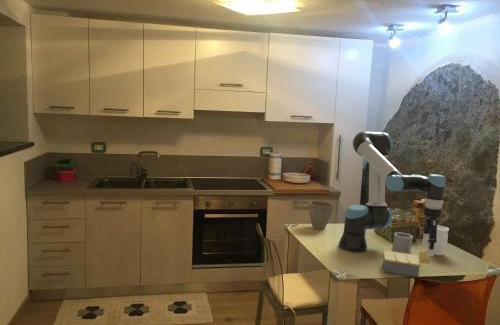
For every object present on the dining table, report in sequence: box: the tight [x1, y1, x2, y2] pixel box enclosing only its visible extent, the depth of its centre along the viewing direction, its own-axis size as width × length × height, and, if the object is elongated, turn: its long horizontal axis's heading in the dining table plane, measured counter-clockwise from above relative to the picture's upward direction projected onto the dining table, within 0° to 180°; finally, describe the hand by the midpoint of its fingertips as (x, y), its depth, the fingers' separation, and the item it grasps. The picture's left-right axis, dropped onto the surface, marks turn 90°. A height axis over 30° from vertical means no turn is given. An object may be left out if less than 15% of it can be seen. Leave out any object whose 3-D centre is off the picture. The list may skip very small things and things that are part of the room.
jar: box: [432, 224, 450, 256], centre depth 232 cm, size 11×10×15 cm
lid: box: [382, 250, 431, 267], centre depth 201 cm, size 21×13×5 cm, turn 76°
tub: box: [382, 258, 421, 279], centre depth 202 cm, size 15×12×6 cm
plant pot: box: [308, 200, 334, 231], centre depth 261 cm, size 15×15×16 cm
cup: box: [391, 232, 414, 254], centre depth 221 cm, size 9×9×12 cm
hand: (427, 251), depth 198 cm, fingers open, 13 cm apart
